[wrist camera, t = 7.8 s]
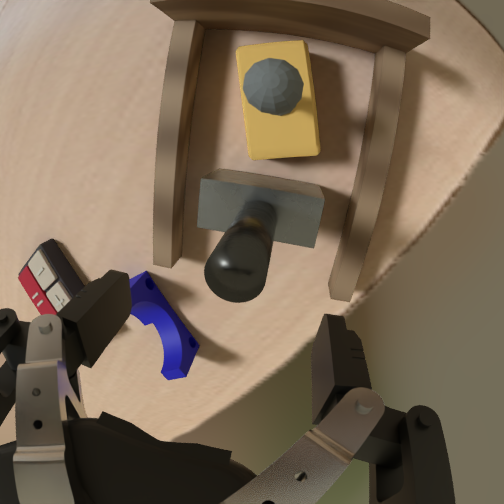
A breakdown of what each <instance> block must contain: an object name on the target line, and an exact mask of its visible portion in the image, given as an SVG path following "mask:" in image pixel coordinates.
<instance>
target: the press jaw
mask: <svg viewBox="0 0 504 504" xmlns="http://www.w3.org/2000/svg"><path fill="white" fill-rule="evenodd" d="M324 202H325V198H324V196H323V193H322V191H321V189H320V187H319V185H315V184H310V183H304V182H299V181H294V180H288V179H283V178H277V177H271V176H265V175H259V174H253V173H247V172H240V171H233V170H226V169H217V170H215V171H213V172H211V173H210V174H208V175H206V176H204V177H202V178H201V183H200V194H199V206H198V219H197V227H199V228H204V229H210V230H216V231H222V232H225V234H224V235H223V237H222V238H221V240H220V241H219V243H218V244H217V246H216V248H215V249H214V251H213V252H212V254H211V255H210V257H209V259H208V260H207V262H206V265H205V269H204V275H205V280H206V282H207V285H208V286H209V288H210V289H211V290H212V291H213V292H214V293H215V294H216V295H217V296H218V297H220V298H222V299H224V300H226V301H230V302H236V303H240V302H247V301H250V300H252V299H254V298H255V297H257V296H258V295H259V294H260V293H261V292H262V290H263V288H264V286H265V282H266V277H267V272H268V267H269V262H270V257H271V251H272V246H273V241H277V242H282V243H288V244H293V245H299V246H304V247H309V248H314V246H315V242H316V237H317V233H318V229H319V224H320V220H321V216H322V211H323V207H324Z"/></svg>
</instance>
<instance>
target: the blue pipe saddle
mask: <svg viewBox="0 0 504 504" xmlns="http://www.w3.org/2000/svg"><path fill="white" fill-rule="evenodd" d="M129 281H130V291H131V300H132V309H131V313H130V314H132V315H134V316H135V317H137V318H138V319H139V320H140V321H141V322H142V323H143V324H144V325H148V324H151V323H153V324H154V325H155V327H156V329H157V330H158V332H159V335H160V337H161V340H162V344H163V349H164V363H163V368H162V370H161V373H162V374H163V375H164V377H165V378H166V379H167V380H172V379H178V378H183V377H187V374H188V372H189V369H190V367H191V365H192V362H193V360H194V357H195V355H196V353H197V350H198V348H199V344H198V343H197V341H196V340H195V339H194V337H193V336H192V335H191V333H190V332H189V331H188V329H187V328H186V327H185V325H184V324H183V323H182V321H181V320H180V318H179V317H178V316H177V314H176V313H175V312H174V310H173V309H172V307H171V306H170V305H169V303H168V302H167V300H166V299H165V297H164V296H163V295H162V293H161V292H160V290H159V289H158V287H157V286H156V284H155V283H154V281H153V280H152V278H151V277H150V275H149V274H148V272H147V271H145V272H143V273H141V274H139V275H137V276H135V277H133V278H131V279H129Z"/></svg>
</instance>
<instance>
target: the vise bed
mask: <svg viewBox="0 0 504 504" xmlns="http://www.w3.org/2000/svg"><path fill="white" fill-rule="evenodd" d="M150 3H151V4H152V5H154V6H155V7H157V8H158V9H159V10H161V11H162V12H163V13H165V14H166V15H168V16H169V17H170V18H171V19H173V20H174V21H175V22H174V26H173V31H172V36H171V41H170V47H169V52H168V58H167V64H166V70H165V77H164V84H163V91H162V99H161V107H160V116H159V125H158V136H157V148H156V162H155V179H154V206H153V265H157V266H162V267H167V268H172V267H173V266H174V265H175V263H176V262H177V261H178V260H179V258H180V257H181V256H182V230H183V212H184V196H185V182H186V170H187V159H188V148H189V139H190V129H191V121H192V113H193V105H194V97H195V90H196V83H197V76H198V70H199V64H200V58H201V52H202V46H203V40H204V35H205V30H206V29H227V30H249V31H262V32H272V33H281V34H289V35H296V36H302V37H308V38H314V39H319V40H324V41H329V42H334V43H338V44H343V45H347V46H351V47H355V48H358V49H362V50H366V51H369V52H373V53H375V62H374V71H373V79H372V87H371V94H370V101H369V107H368V114H367V120H366V126H365V131H364V137H363V143H362V148H361V153H360V158H359V163H358V168H357V173H356V177H355V182H354V187H353V191H352V195H351V200H350V204H349V208H348V212H347V216H346V220H345V224H344V228H343V232H342V236H341V240H340V244H339V247H338V251H337V255H336V258H335V262H334V265H333V269H332V272H331V275H330V279H329V282H328V286H329V291H330V297H331V299H334V300H340V301H346V302H350V300H351V298H352V295H353V292H354V289H355V286H356V283H357V280H358V278H359V275H360V272H361V269H362V265H363V262H364V259H365V256H366V253H367V250H368V246H369V243H370V240H371V236H372V233H373V229H374V226H375V222H376V219H377V215H378V211H379V207H380V203H381V200H382V196H383V191H384V187H385V183H386V179H387V174H388V170H389V165H390V160H391V156H392V151H393V146H394V140H395V135H396V129H397V123H398V117H399V111H400V104H401V96H402V89H403V80H404V71H405V60H406V53H407V52H408V51H410V50H412V49H413V48H415V47H417V46H418V45H420V44H422V43H423V42H425V41H427V40H428V39H430V17H428V16H426V15H424V14H421V13H419V12H417V11H414V10H412V9H409V8H407V7H404V6H401V5H399V4H396V3H393V2H390V1H387V0H150Z"/></svg>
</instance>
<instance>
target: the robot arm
mask: <svg viewBox="0 0 504 504" xmlns="http://www.w3.org/2000/svg"><path fill="white" fill-rule="evenodd" d="M131 309H132V300H131V291H130V281H129V276H128V274H127V273H124V272H120V271H116V270H109V271H108V272H107V273H106V274H105V275H104V276H103V277H102V278H101V279H100V278H98V279H96V280H94V281H92V282H90V283H88V284H87V285H86V286H85V287H84V288H83V289H82V290H81V291H80V292H78V293H77V294H76V297H75V296H74V297H73V298H72V299H71V300H70V301H69V302H68V303H67V304H66V305H65V306H64V307H63V308H62V309H61V310H60V311H59V312H58V313H57V314H56V315H53V314H44V315H40V316H38V317H36V318H35V319H34V320H33V321H32V322H24V321H19V320H18V318H17V315H16V312H15V311H14V310H12V309H9V308H4V309H1V310H0V354H1V352H2V353H3V355H4V356H5V358H6V361H5V363H4V364H3V365H2V367H1V368H0V426H1V424H2V423H3V421H4V419H5V418H6V416H7V414H8V413H9V411H10V410H11V408H12V407H13V405H14V404H16V405H15V412H16V413H15V417H16V441H13V442H10V443H7V444H4V445H1V446H0V504H315V503H316V502H317V501H318V500H319V499H320V498H321V496H322V495H323V494H324V493H325V492H326V491H327V490H328V489H329V488H330V487H331V485H332V484H333V483H334V482H335V481H336V480H337V478H338V477H339V476H340V475H341V474H342V473H343V471H344V470H345V469H346V468H347V466H348V465H349V464H350V462H351V461H352V459H353V458H355V459H358V460H362V461H365V462H368V463H369V482H370V483H369V486H370V487H369V497H370V498H369V504H455V496H454V488H453V481H452V475H451V469H450V463H449V458H448V453H447V449H446V443H445V439H444V434H443V430H442V426H441V422H440V419H439V417H438V415H437V414H436V412H435V411H433V410H432V409H431V408H429V407H426V406H422V405H418V406H414V407H412V408H411V409H410V410H409V411H408V412H407V413H405V412H401V411H398V410H395V409H391V408H389V407H386V406H385V405H384V402H383V400H382V398H381V397H380V395H378V394H377V393H376V392H375V391H373V390H372V387H371V382H370V378H369V373H368V368H367V364H366V360H365V355H364V352H363V346H362V342H361V339H360V338H359V337H358V335H357V334H356V333H355V332H354V331H352V330H347V329H346V324H345V319H344V317H343V316H338V315H331V314H324V316H323V318H322V321H321V324H320V327H319V329H318V332H317V335H316V338H315V341H314V344H313V348H312V354H311V364H312V365H311V366H312V424H316V425H317V426H316V427H315V428H314V429H313V430H309V431H308V432H307V433H305V434H304V435H303V436H302V437H301V438H300V439H299V440H298V441H297V442H296V443H295V444H294V445H293V446H292V447H290V448H289V449H288V450H287V451H286V452H285V453H284V454H283V455H282V456H280V457H279V458H278V459H277V460H276V461H275V462H273V464H271V465H270V466H269V467H268V468H266V469H265V470H264V471H263V472H261V473H260V474H259V475H258V476H257V475H256V474H255V473H253V472H252V471H251V470H249V469H248V468H247V467H245V466H244V465H242V464H240V463H238V462H236V461H234V460H232V459H230V457H231V453H232V451H228V450H223V449H219V448H214V447H209V446H205V445H201V444H197V443H196V444H195V443H176V442H165V441H160V440H157V439H156V438H154V437H152V436H151V435H149V434H148V433H146V432H144V431H143V430H141V429H140V428H138V427H137V426H135V425H134V424H132V423H130V422H128V421H125V420H123V419H120V418H118V417H115V416H113V415H110V414H108V413H106V412H102V413H101V415H100V417H99V419H98V418H88V417H87V415H86V411H85V408H84V402H83V395H82V389H81V381H80V373H79V370H78V368H79V366H80V365H81V364H82V365H84V366H87V367H89V368H92V366H93V365H94V364H95V362H96V361H97V359H98V358H99V357H100V355H101V354H102V352H103V351H104V350H105V348H106V347H107V346H108V344H109V343H110V341H111V340H112V339H113V337H114V336H115V335H116V333H117V332H118V331H119V329H120V328H121V327H122V325H123V324H124V323H125V321H126V320H127V319H128V317H129V315H130V313H131ZM15 402H16V403H15Z"/></svg>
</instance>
